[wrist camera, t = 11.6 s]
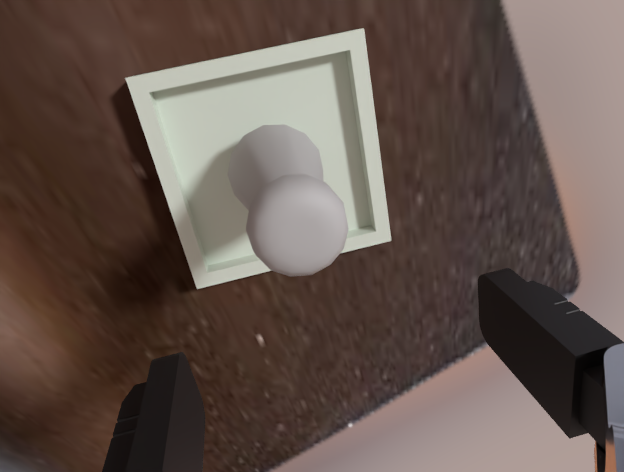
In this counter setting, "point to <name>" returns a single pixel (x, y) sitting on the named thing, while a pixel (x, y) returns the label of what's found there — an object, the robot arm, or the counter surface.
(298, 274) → the salt shaker
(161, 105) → the tray
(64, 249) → the counter surface
